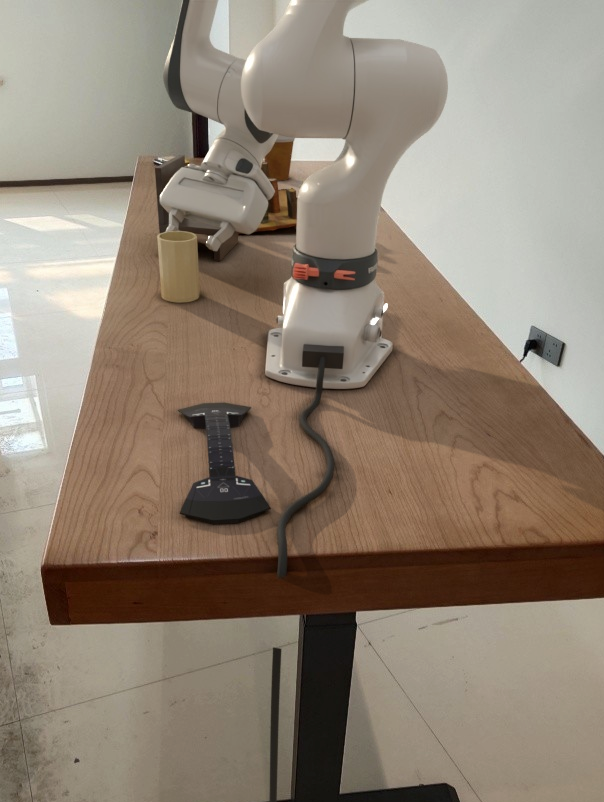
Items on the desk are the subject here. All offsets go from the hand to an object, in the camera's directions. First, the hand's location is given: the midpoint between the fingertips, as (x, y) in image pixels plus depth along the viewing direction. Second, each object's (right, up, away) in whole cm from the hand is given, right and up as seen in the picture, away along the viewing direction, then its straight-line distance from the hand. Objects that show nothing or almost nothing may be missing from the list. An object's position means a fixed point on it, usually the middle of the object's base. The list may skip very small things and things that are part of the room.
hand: (190, 242), depth 123 cm
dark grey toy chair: (-2, +8, +26) cm, 27 cm away
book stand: (+8, +23, +48) cm, 54 cm away
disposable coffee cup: (+12, +48, +85) cm, 99 cm away
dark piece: (+9, -39, -40) cm, 57 cm away
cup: (-2, -8, +3) cm, 9 cm away
